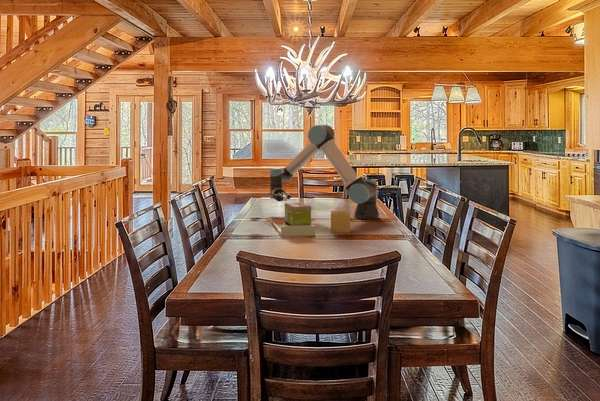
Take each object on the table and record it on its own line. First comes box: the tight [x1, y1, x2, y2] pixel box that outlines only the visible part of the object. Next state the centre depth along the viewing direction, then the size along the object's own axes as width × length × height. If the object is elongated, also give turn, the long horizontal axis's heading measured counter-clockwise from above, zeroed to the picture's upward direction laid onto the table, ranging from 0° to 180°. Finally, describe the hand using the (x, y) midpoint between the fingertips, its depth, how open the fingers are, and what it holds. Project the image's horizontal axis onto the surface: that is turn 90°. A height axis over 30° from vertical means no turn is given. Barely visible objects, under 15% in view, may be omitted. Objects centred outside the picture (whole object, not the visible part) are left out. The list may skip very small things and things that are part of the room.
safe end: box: [276, 224, 316, 237], centre depth 262 cm, size 17×14×5 cm
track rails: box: [267, 217, 281, 231], centre depth 287 cm, size 17×38×2 cm, turn 11°
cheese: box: [330, 210, 351, 234], centre depth 269 cm, size 10×11×10 cm
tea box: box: [284, 202, 312, 226], centre depth 264 cm, size 15×10×15 cm
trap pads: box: [272, 218, 285, 225], centre depth 299 cm, size 13×13×1 cm
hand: (285, 198), depth 290 cm, fingers closed
